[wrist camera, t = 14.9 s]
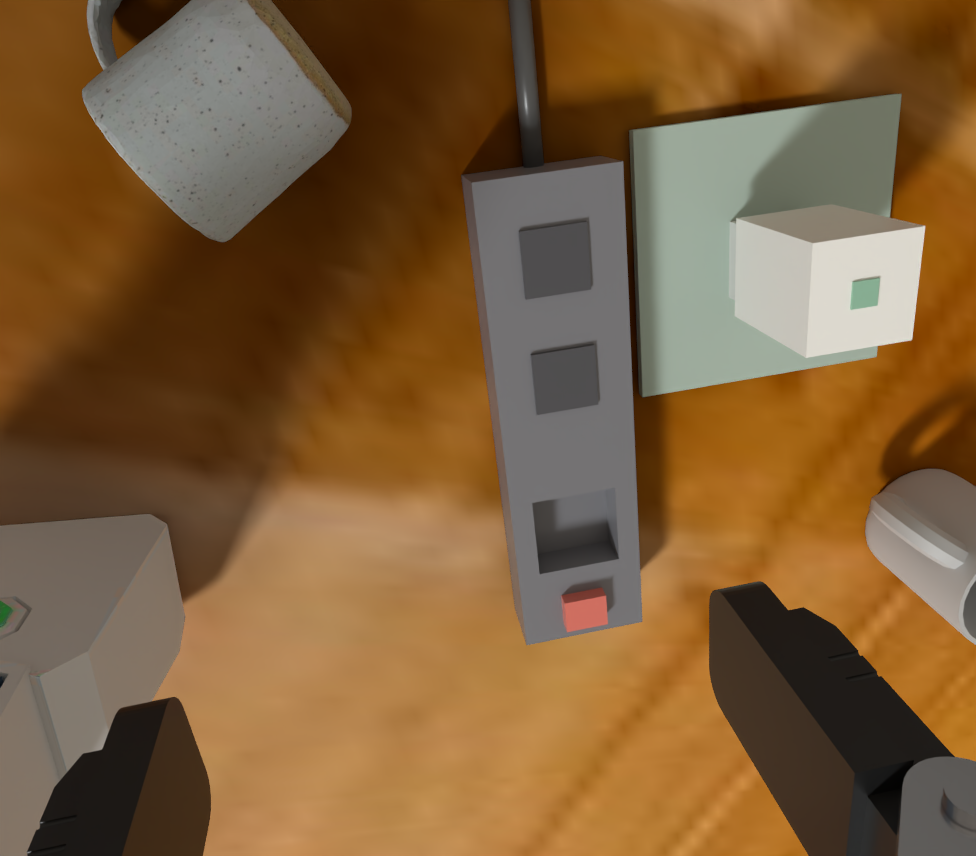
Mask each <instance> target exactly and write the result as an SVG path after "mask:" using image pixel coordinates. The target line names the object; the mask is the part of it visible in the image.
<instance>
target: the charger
mask: <svg viewBox="0 0 976 856" xmlns="http://www.w3.org/2000/svg"><path fill="white" fill-rule="evenodd" d="M924 232H925V226H923V225H918V224H914V223H910V222H906V221H901V220H897V219H893V218H889V217H884V216H880V215H876V214H872V213H867V212H863V211H859V210H854V209H850V208H846V207H842V206H837V205H833V204H829V205H822V206H815V207H809V208H802V209H795V210H788V211H782V212H775V213H768V214H761V215H755V216H748V217H741V218H736V221H730V236H729V297H730V298H731V299H733V300H735V317H737V318H739V319H740V320H742V321H744V322H746V323H747V324H749V325H751V326H752V327H754V328H756V329H757V330H759V331H761V332H763V333H764V334H766V335H768V336H769V337H771V338H773V339H775V340H776V341H778V342H780V343H781V344H783V345H785V346H787V347H788V348H790V349H792V350H793V351H795V352H797V353H799V354H800V355H802V356H804V357H805V358H809V357H815V356H820V355H826V354H832V353H838V352H844V351H850V350H856V349H862V348H868V347H874V346H880V345H886V344H891V343H897V342H903V341H909V340H912V336H913V327H914V318H915V310H916V301H917V293H918V284H919V275H920V267H921V258H922V250H923V241H924Z"/></svg>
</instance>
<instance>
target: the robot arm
mask: <svg viewBox="0 0 976 856" xmlns="http://www.w3.org/2000/svg"><path fill="white" fill-rule="evenodd" d="M709 670H710V677H711V682H712V687H713V690H714V693H715V696H716V699H717V702H718V704H719V706H720V708H721V710H722V712H723V713H724V715H725V717H726V718H727V720H728V722H729V723H730V725H731V727H732V728H733V730H734V732H735V733H736V735H737V737H738V738H739V740H740V742H741V743H742V745H743V747H744V748H745V750H746V752H747V753H748V755H749V757H750V758H751V760H752V762H753V763H754V765H755V767H756V768H757V770H758V772H759V773H760V775H761V777H762V778H763V780H764V782H765V783H766V785H767V787H768V788H769V790H770V792H771V793H772V795H773V797H774V798H775V800H776V802H777V803H778V805H779V807H780V808H781V810H782V812H783V813H784V815H785V817H786V818H787V820H788V822H789V823H790V825H791V827H792V828H793V830H794V832H795V833H796V835H797V837H798V838H799V840H800V842H801V843H802V845H803V847H804V848H805V850H806V852H807V853H808V855H809V856H976V762H975V761H972V760H968V759H963V758H958V757H954V756H953V755H952V754H951V753H950V751H949V750H948V749H947V748H946V747H945V746H944V745H943V744H942V743H941V742H940V740H939V739H938V738H937V737H936V736H935V735H934V734H933V733H932V732H931V731H930V729H929V728H928V727H927V726H926V725H925V724H924V723H923V722H922V721H921V719H920V718H919V717H918V716H917V715H916V714H915V713H914V712H913V711H912V710H911V708H910V707H909V706H908V705H907V704H906V703H905V702H904V701H903V700H902V699H901V697H900V696H899V695H898V694H897V693H896V692H895V691H894V690H893V689H892V688H891V686H890V685H889V684H888V683H887V682H886V681H885V680H884V679H883V678H882V677H878V675H877V671H876V670H875V669H874V668H873V667H872V666H871V664H870V663H869V662H868V661H867V660H866V659H865V658H864V657H863V656H860V655H859V653H858V650H857V649H856V648H855V647H854V646H853V645H852V643H851V642H850V641H849V640H848V639H847V638H846V637H845V636H844V635H843V634H842V632H841V631H840V630H839V629H838V628H837V627H836V626H835V625H833V624H831V623H830V622H828V621H826V620H824V619H823V618H821V617H819V616H817V615H816V614H814V613H812V612H811V611H809V610H807V609H805V608H804V607H803V608H798V609H794V610H789V611H788V610H787V609H786V607H785V606H784V605H783V604H782V603H781V601H780V600H779V599H778V598H777V597H776V596H775V594H774V593H773V592H772V591H771V590H770V588H769V587H768V586H767V585H766V584H764V583H763V582H753V583H748V584H743V585H738V586H733V587H728V588H723V589H718V590H714V591H713V592H712V593H711V596H710V603H709ZM210 812H211V794H210V785H209V779H208V775H207V772H206V769H205V766H204V763H203V760H202V758H201V755H200V752H199V749H198V747H197V744H196V741H195V738H194V736H193V733H192V730H191V727H190V725H189V722H188V719H187V716H186V714H185V711H184V708H183V706H182V704H181V702H180V701H179V699H178V698H176V697H171V698H166V699H161V700H156V701H151V702H146V703H141V704H136V705H131V706H127V707H122V708H120V709H119V710H118V711H117V713H116V715H115V717H114V719H113V722H112V724H111V727H110V730H109V732H108V735H107V738H106V740H105V743H104V746H103V748H102V750H98V751H93V752H88V753H83V754H82V755H81V756H80V757H79V759H78V760H77V761H76V762H75V763H74V765H73V766H72V767H71V768H70V769H69V770H68V772H67V773H66V774H65V775H64V776H63V778H62V779H61V780H60V781H59V782H58V783H57V785H56V786H55V787H54V789H53V791H52V794H51V796H50V799H49V801H48V803H47V806H46V808H45V810H44V813H43V815H42V817H41V820H40V822H39V823H40V828H39V829H38V830H36V831H35V834H34V836H33V839H32V841H31V843H30V846H29V848H28V850H27V856H203V851H204V846H205V841H206V836H207V831H208V826H209V820H210Z"/></svg>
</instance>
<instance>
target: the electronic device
mask: <svg viewBox="0 0 976 856" xmlns="http://www.w3.org/2000/svg"><path fill="white" fill-rule="evenodd" d="M184 622H185V614H184V608H183V603H182V598H181V593H180V588H179V583H178V577H177V572H176V567H175V562H174V557H173V552H172V546H171V541H170V536H169V531H168V526H167V524H166V523H165V522H163V521H161V520H160V519H158V518H156V517H154V516H153V515H151V514H141V515H128V516H116V517H103V518H90V519H78V520H65V521H53V522H40V523H28V524H15V525H3V526H0V856H27V850H28V848H29V846H30V843H31V841H32V839H33V836H34V834H35V831H36V830H38V829H39V828H40V823H39V822H40V820H41V817H42V815H43V813H44V810H45V808H46V806H47V803H48V801H49V799H50V796H51V794H52V791H53V789H54V787H55V786H56V785H57V783H58V782H59V781H60V780H61V779H62V778H63V776H64V775H65V774H66V773H67V772H68V770H69V769H70V768H71V767H72V766H73V765H74V763H75V762H76V761H77V760H78V759H79V757H80V756H81V755H82V754H83V753H88V752H93V751H98V750H102V748H103V746H104V743H105V740H106V738H107V735H108V732H109V730H110V727H111V724H112V722H113V719H114V717H115V715H116V713H117V711H118V710H119V709H120V708H122V707H127V706H131V705H136V704H141V703H146V702H151V701H152V700H153V698H154V696H155V694H156V692H157V691H158V689H159V687H160V685H161V683H162V682H163V680H164V678H165V676H166V675H167V673H168V671H169V669H170V667H171V666H172V664H173V662H174V660H175V658H176V657H177V655H178V653H179V651H180V645H181V639H182V633H183V628H184Z"/></svg>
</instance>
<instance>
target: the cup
mask: <svg viewBox="0 0 976 856" xmlns="http://www.w3.org/2000/svg"><path fill="white" fill-rule="evenodd" d="M869 508H870V510H869V513H868V516H867V518H866V528H865V535H866V539H867V544H868V547H869V548H870V550H871V551H872V553H873V554H874V556H875V557H876V558H877V559H878V560H879V561H880V562H881V563H882V564H884V565H885V566H886V567H887V568H888V569H889V570H890V571H891V572H893V573H894V574H895V575H896V576H897V577H898V578H899V579H900V580H902V581H903V582H904V583H905V584H906V585H907V586H908V587H909V588H911V589H912V590H913V591H914V592H915V593H916V594H917V595H918V596H920V597H921V598H922V599H923V600H924V601H925V602H926V603H927V604H929V605H930V606H931V607H932V608H933V609H934V610H935V611H936V612H938V613H939V614H940V615H941V616H942V617H943V618H944V619H946V620H947V621H948V622H949V623H950V624H951V625H952V626H953V627H955V628H956V629H957V630H958V631H959V632H960V633H961V634H962V635H964V636H965V637H966V638H967V639H968V640H970V641H971V642H972V643H974V644H975V645H976V487H975V486H974V485H972V484H971V483H969V482H968V481H966V480H964V479H963V478H961V477H959V476H957V475H955V474H953V473H951V472H948V471H945V470H943V469H923V470H918V471H913V472H910V473H908V474H906V475H903V476H901V477H899V478H897V479H896V480H895V481H893V482H892V483H890V484H889V485H888V486H887V487H886V488H885V489H884V490H883V491H882V492H881V493H879V494H877V495H875V496H874V497H872V499H871V503H870V507H869Z"/></svg>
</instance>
